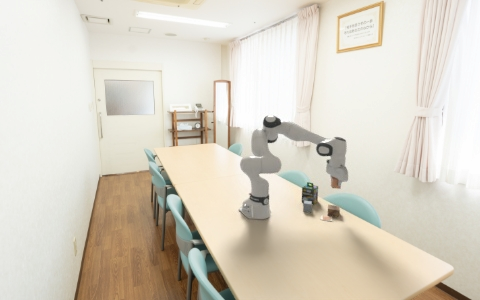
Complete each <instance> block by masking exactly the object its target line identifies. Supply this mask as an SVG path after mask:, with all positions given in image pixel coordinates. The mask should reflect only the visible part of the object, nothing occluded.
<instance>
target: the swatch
mask: <svg viewBox="0 0 480 300" xmlns="http://www.w3.org/2000/svg"><path fill="white" fill-rule="evenodd" d="M320 221H324V222H326V221H327V222H331V223H333V217H332V216H328V215H320Z"/></svg>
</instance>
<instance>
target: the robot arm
mask: <svg viewBox="0 0 480 300" xmlns="http://www.w3.org/2000/svg"><path fill="white" fill-rule="evenodd" d="M279 134H280V135H283V137H286V138H287V139H289V140H291V141H293V142H310V143H313V144H314V145H316V146H315V151H316V153H317V155H319V156H320V157H330V158H329V159H326V160H325V161H326V162H325V163H326V167H325V172H326V173H327V174H328V175H330V179H331V178H332V177H335V178H337V179H338V181H339V182H338V183H337V186H342V183H343V182H344V183H345V182H348V181H349V171H348V169H347V167H346V154H347V150H348V149H347V140H346V139H345V138H343V137H339V136H334V137H332V138H326V137H323V136H322V135H321V136H320V135H319V134H316V133H314V132H312V131H311V130H308V129H307V128H305V127H302V126H300V125H299V124H297V123H294V122H292V121H290V120H287V119H282V120H281V118H279V117H278V116H275V115H272V114H270V115H266V116H265V117H264V118H263V120H262V128H256V129H254V130H253V132H252V135H251V152H252V154H253V155H249V156H244V157H242V159H241V160H240V162H239V167H240V170H241V172H243V173H244V174H245V175H246V176H247V177H248V178H249V180H250V187H251V191H250V193H248V196H249V197H248V198H247V199H245V200H244V201H243V202H242V204H241V205H242V206H240V207H239V208H238V211H239V212H240V213H242V214H243V215H244V216H245V217H246V218H247V219H249V220H250V219H254V220H265V219H268V218H269V217H270V216H271V215H272V214H271V209H270V191H269V190H270V183H269V181H268V180H267V179H265V178H264V177H262V176H260V175H261V174H265V175H266V174H267V175H268V174H269V175H270V174H276V173H279V172H280V171H281V169H282V161H281V159H280V158H279V157H278V156H275V155H274V154H273V153H272V152H271V150H270V149H269V144H274V143H275V142H277V140H278V138H279Z"/></svg>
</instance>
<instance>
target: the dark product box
mask: <svg viewBox="0 0 480 300" xmlns="http://www.w3.org/2000/svg"><path fill="white" fill-rule="evenodd" d="M318 196H319V185H314V182H309V181H308V182H306V184H304V185H303V186H302V187H301V203H304V200H305V201H312V204H313V205H315V204H316V203H317V202H318V200H319V199H318V198H319V197H318Z"/></svg>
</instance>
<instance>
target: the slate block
mask: <svg viewBox="0 0 480 300" xmlns="http://www.w3.org/2000/svg"><path fill="white" fill-rule="evenodd" d="M312 206H313V205H312V201H305V200H304V202H303V206H302V212H303V213H312V208H313V207H312Z"/></svg>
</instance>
